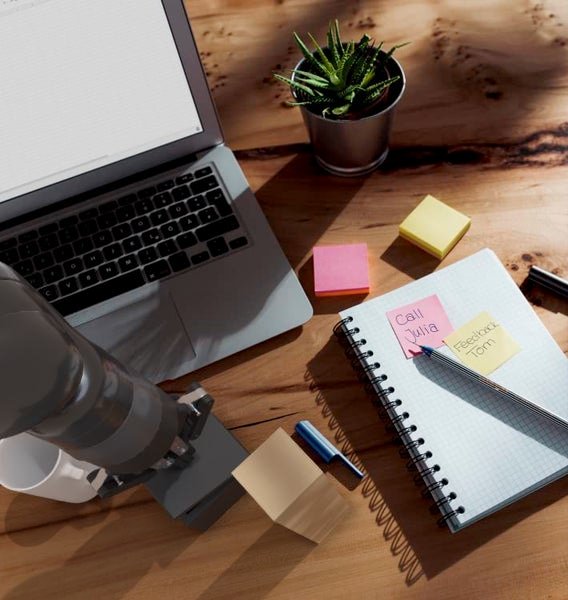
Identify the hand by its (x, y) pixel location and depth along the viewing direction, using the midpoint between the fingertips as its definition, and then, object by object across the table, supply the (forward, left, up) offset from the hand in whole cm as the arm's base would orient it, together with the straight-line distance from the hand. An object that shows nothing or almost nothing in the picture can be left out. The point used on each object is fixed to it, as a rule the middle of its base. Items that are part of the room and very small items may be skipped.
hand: (183, 456), depth 67 cm
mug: (-10, +9, -10) cm, 17 cm away
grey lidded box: (0, 0, -10) cm, 10 cm away
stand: (+6, -12, -10) cm, 17 cm away
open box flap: (0, 0, -1) cm, 1 cm away
